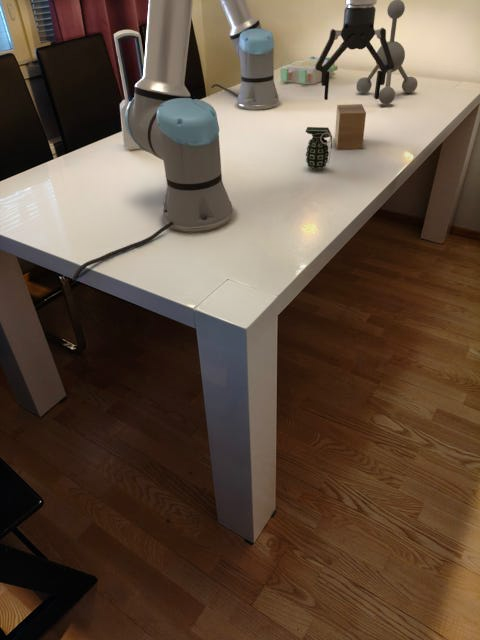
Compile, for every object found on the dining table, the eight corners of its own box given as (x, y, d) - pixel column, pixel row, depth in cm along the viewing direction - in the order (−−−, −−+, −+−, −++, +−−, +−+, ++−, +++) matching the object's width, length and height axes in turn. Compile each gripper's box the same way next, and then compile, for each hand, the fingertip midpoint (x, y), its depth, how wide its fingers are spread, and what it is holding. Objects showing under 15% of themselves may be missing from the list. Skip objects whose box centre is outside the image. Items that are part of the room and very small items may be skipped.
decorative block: (303, 54, 216) (344, 57, 207) (302, 70, 220) (342, 74, 211) (271, 65, 200) (314, 69, 191) (271, 82, 204) (314, 87, 195)
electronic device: (125, 150, 145) (103, 35, 126) (123, 143, 151) (101, 31, 132) (166, 145, 147) (150, 30, 129) (163, 137, 153) (147, 27, 134)
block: (362, 148, 137) (366, 112, 131) (337, 149, 138) (339, 113, 132) (358, 138, 144) (362, 104, 138) (334, 139, 144) (337, 104, 139)
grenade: (303, 171, 125) (304, 132, 119) (306, 163, 129) (307, 125, 123) (329, 173, 124) (331, 132, 117) (331, 164, 128) (333, 125, 122)
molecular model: (436, 99, 173) (455, -2, 154) (383, 108, 167) (396, 4, 148) (396, 85, 190) (408, -7, 172) (347, 93, 184) (354, -1, 166)
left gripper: (409, 3, 122) (395, 94, 135) (308, 6, 124) (304, 95, 137) (415, 6, 116) (400, 101, 129) (310, 8, 118) (305, 102, 131)
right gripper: (383, -81, 162) (375, -5, 175) (307, -77, 164) (305, -1, 177) (387, -82, 156) (378, -3, 169) (308, -77, 158) (306, 1, 171)
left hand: (350, 98), depth 133 cm, fingers open, 13 cm apart
